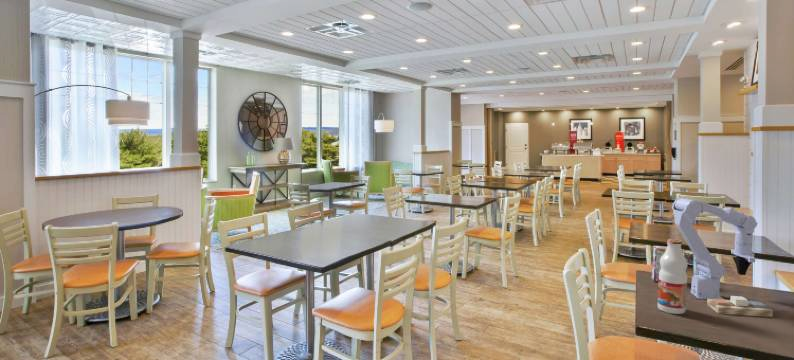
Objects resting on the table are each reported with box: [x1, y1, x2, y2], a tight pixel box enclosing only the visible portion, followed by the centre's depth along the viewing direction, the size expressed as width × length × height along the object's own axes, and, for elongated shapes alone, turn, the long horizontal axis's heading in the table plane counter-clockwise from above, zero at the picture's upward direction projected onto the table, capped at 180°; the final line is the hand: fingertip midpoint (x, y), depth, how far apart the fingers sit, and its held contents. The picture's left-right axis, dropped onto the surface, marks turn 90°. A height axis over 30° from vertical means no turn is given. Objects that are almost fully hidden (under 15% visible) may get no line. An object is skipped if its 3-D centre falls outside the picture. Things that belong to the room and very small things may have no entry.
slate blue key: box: [748, 300, 767, 308], centre depth 168 cm, size 4×4×2 cm
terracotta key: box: [713, 298, 730, 306], centre depth 171 cm, size 4×4×2 cm
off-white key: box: [729, 295, 749, 306], centre depth 169 cm, size 4×4×2 cm
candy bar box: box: [651, 245, 684, 283], centre depth 204 cm, size 11×5×16 cm, turn 71°
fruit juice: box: [657, 238, 688, 315], centre depth 170 cm, size 9×9×28 cm
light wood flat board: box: [706, 299, 774, 318], centre depth 170 cm, size 18×9×2 cm, turn 77°
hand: (741, 274), depth 184 cm, fingers closed
